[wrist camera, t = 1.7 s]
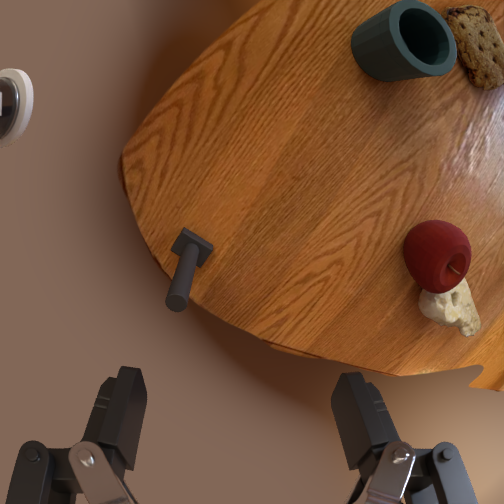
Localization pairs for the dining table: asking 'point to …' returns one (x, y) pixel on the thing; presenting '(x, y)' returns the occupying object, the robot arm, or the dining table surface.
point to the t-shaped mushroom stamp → (186, 267)
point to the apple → (437, 255)
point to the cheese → (452, 309)
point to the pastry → (477, 44)
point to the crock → (404, 43)
